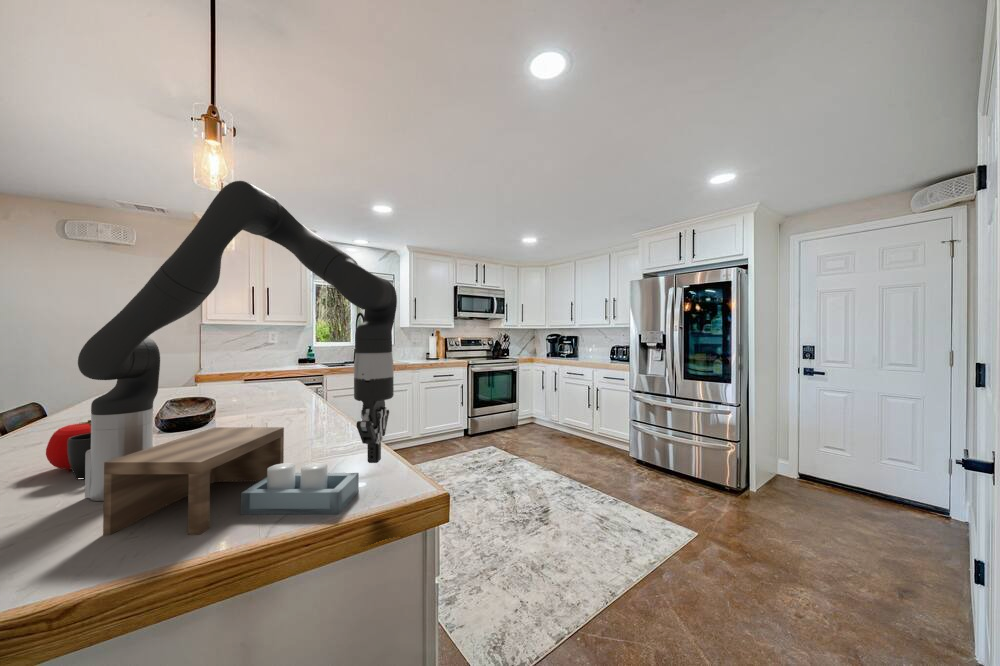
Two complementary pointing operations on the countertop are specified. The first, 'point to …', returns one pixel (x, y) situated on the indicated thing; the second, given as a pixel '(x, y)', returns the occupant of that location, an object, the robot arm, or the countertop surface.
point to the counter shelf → (186, 473)
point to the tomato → (64, 443)
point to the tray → (300, 491)
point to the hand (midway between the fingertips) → (374, 461)
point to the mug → (78, 453)
